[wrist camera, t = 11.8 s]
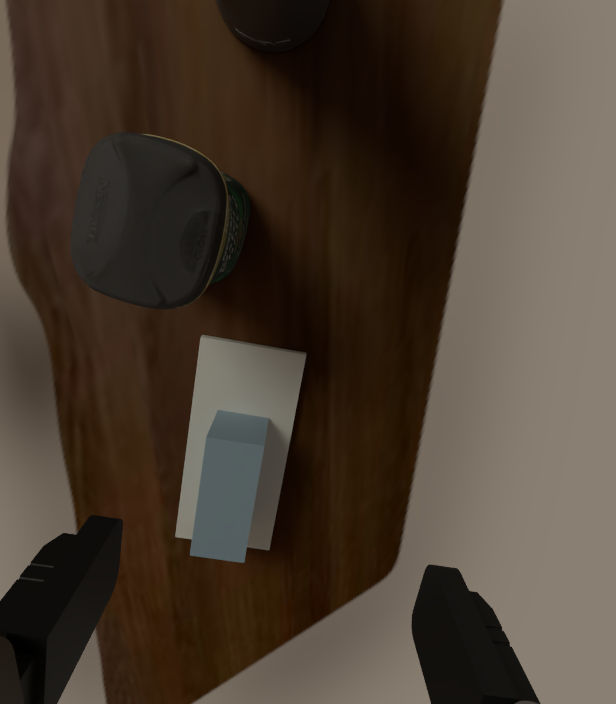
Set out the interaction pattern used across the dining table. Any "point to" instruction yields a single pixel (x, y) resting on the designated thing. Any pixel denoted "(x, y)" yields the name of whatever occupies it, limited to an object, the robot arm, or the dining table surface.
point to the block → (228, 486)
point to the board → (246, 398)
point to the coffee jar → (155, 221)
